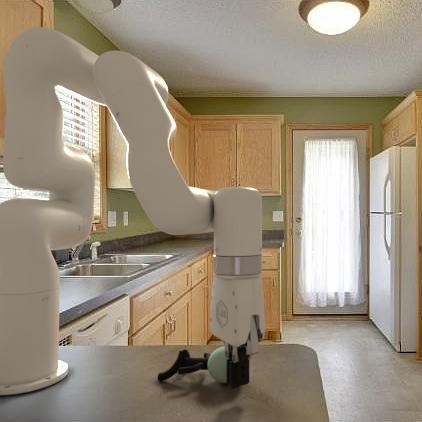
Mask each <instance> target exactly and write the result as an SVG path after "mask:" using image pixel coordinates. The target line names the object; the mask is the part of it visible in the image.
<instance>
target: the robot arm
mask: <svg viewBox="0 0 422 422" xmlns="http://www.w3.org/2000/svg"><path fill="white" fill-rule="evenodd" d="M2 71H3V84H4V85H3V86H4V94H5V103H6V104H5V105H6V107H5V109H6V110H5V111H6V113H5V121H4V139H3V155H2V156H3V157H2V168H3V169H2V170H3V175H4V177H5V180H6V181H7V182H8V183H9V184H10V185H11V186H14V187H16V188H18V189H23V190H29V191H37V192H47V193H49V194H48V196H49V197H48V198H39V197H37V198H36V197H16V198H11V199H7V200H4V201H2V202H0V396H12V395H13V396H14V395H20V394H24V393H30V392H34V391H37V390H41V389H44V388H47V387H50V386H52V385H54V384H56V383H58V382H60V381H62V380H63V379H64V378H65V377H67V375H68V373H69V365H68V363H67V362H64V361H62V360H59V356H60V355H59V352H60V350H59V349H60V348H59V347H60V304H61V303H60V300H61V297H60V296H61V274H60V269H59V266H58V264H57V262H56V259H55V258H54V255H53V253H52V251H57V250H58V251H59V250H68V249H73V248H77V247H78V246H81V245H82V244H83V243H84V242H86V240H87V239H88V238H89V236H90V234H91V231H92V227H93V221H94V207H95V191H96V171H95V170H96V169H95V166H94V162H93V160H92V158H91V157H90V156H89V154H88V153H87V152H86V151H84V150H83V149H81V148H80V147H77V146H75V145H72V144H68V143H65V141H64V124H65V123H64V122H65V120H64V110H63V107H62V104H61V101H60V99H59V97H58V95H57V92H56V88H57V87H58V88H60V89H63V90H65V91H67V92H69V93H71V94H73V95H76V96H78V97H80V98H82V99H85V100H87V101H90V102H92V103H95V104H98V105H102V106H105V107H107V109H108V111H109V112H110V114H111V117H112V118H113V120H114V122H115V124H116V126H117V128H118V130H119V132H120V134H121V135H122V138H123V139H124V141H125V143H126V145H127V151H126V169H127V176H128V180H129V183H130V185H131V188H132V191H133V192H134V194H135V196H136V198H137V200H138V202H139V204H140V206H141V208H142V210H143V211H144V213H145V215H146V216H147V217H148V219H149V221H150V222H151V223H152V224H153V225H154V227H156V228H157V229H158V230H160V231H161V232H163V233H165V234H167V235H171V236H184V235H198V234H207V233H212V232H213V279H212V286H211V293H210V311H209V331H210V333H211V334H212V335H213V336H214V337H215V338H217V339H219V340H220V341H222V342H223V347H225V357H226V358H229V359H226V383H225V384H226V386H229V387H230V388H231V389H236V388H239V387H242V386H246V385H248V384H250V360H251V359H252V356H253V355H258V354H259V353H260V344H259V343H261V342H263V340H264V339H265V333H266V313H265V296H264V287H263V279H262V276H263V198H262V194H261V192H260V191H259V190H258V189H257V188H253V187H243V186H233V187H232V186H229V187H223V188H219V189H217V190H211V189H204V188H201V187H200V188H199V187H196V186H191V185H188V184H187V183H186V181H185V179H184V176H183V175H182V174H181V172H180V169H179V168H178V167H177V164H176V162H175V160H174V158H173V155H172V153H171V150H170V149H171V148H170V143H171V142H172V141H173V139H174V138H175V137H176V135H177V133H178V126H177V123H176V122H175V120H174V118H173V116H172V114H171V112H170V111H169V109H168V108H167V104H168V101H169V88H168V85H167V83H166V81H165V80H164V78H163V76H161V75H160V74H159V73H158V72H157V71H156V70H154V69H153V68H151V67H150V66H149V65H147V64H146V63H145V62H143V61H142V60H141V59H139V58H138V57H136V56H135V55H133V54H131V53H128V52H126V51H123V50H109V51H106V52H103V53H102V54H101V55H98V54H96V53H95V52H94V51H92V50H90V49H89V48H87V47H86V46H84V45H83V44H81V43H80V42H78V41H76V40H75V39H73V38H72V37H70V36H68V35H66V34H65V33H62V32H61V31H57V30H54V29H52V28H49V27H43V26H34V27H30V28H27V29H25V30H22V32H20V33H19V34H18V35H17V36H15V38H14V39H13V40H12V42H11V43H10V45H9V46H8V48H7V50H6V53H5V56H4V60H3V70H2Z"/></svg>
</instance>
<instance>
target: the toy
mask: <svg viewBox="0 0 422 422" xmlns="http://www.w3.org/2000/svg"><path fill="white" fill-rule="evenodd" d="M226 359H229V358H226V357H225V347H224V346H220V347H218V348H216V349H214V351H212V352H211V353H209V352H204V353H203V357H191V355H190V352H189V351H188V349H183V350H179V351H178V354H177V357H176V359H175V361H174V362H173V364H172V365H171V366H170V367H169V368H168V369H166V370H165V371H163V372H162V371H161V372H158V374H157V381H158V382H162V381H163V382H164V381H166V380H169V379H170V378H172V377H173V376H175V375H176V374H178V375H188V374H193V373H196V372H198V371H208V373H209V375H210V377H211V378H212V379H213V380H215V381H217V382H218V383H222V384H226Z"/></svg>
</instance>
